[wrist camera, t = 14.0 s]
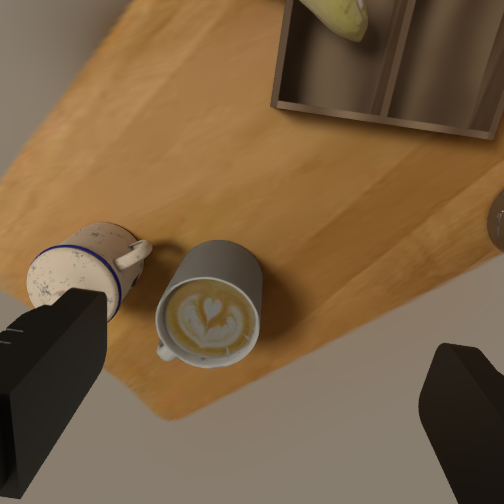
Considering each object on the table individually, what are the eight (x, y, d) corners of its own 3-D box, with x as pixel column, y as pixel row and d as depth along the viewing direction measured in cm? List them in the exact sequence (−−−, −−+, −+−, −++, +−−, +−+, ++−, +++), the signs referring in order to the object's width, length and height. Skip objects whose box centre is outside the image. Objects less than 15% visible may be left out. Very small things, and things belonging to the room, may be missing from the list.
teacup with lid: (98, 303, 49) (47, 361, 38) (54, 239, 46) (-14, 282, 35) (182, 264, 46) (155, 315, 36) (141, 194, 44) (98, 226, 33)
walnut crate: (522, -34, 35) (560, -54, 30) (467, 135, 40) (493, 140, 35) (295, -68, 35) (299, -93, 30) (270, 105, 40) (270, 106, 35)
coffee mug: (229, 223, 44) (217, 256, 35) (279, 290, 47) (280, 338, 38) (139, 284, 48) (106, 329, 38) (190, 343, 50) (171, 399, 41)
